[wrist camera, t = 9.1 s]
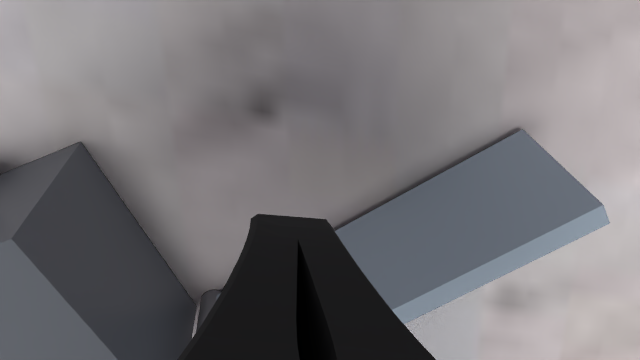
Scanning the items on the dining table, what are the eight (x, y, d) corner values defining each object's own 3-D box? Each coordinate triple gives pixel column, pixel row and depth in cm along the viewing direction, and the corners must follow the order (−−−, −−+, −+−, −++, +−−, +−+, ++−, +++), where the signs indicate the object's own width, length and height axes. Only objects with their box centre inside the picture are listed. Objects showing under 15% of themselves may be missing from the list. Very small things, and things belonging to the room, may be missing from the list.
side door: (222, 324, 24) (210, 445, 19) (195, 297, 23) (175, 417, 18) (533, 159, 21) (621, 248, 16) (517, 122, 20) (605, 203, 15)
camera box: (196, 306, 23) (174, 443, 18) (60, 355, 24) (-3, 502, 18) (67, 123, 18) (-21, 229, 13) (-98, 191, 19) (-252, 321, 13)
